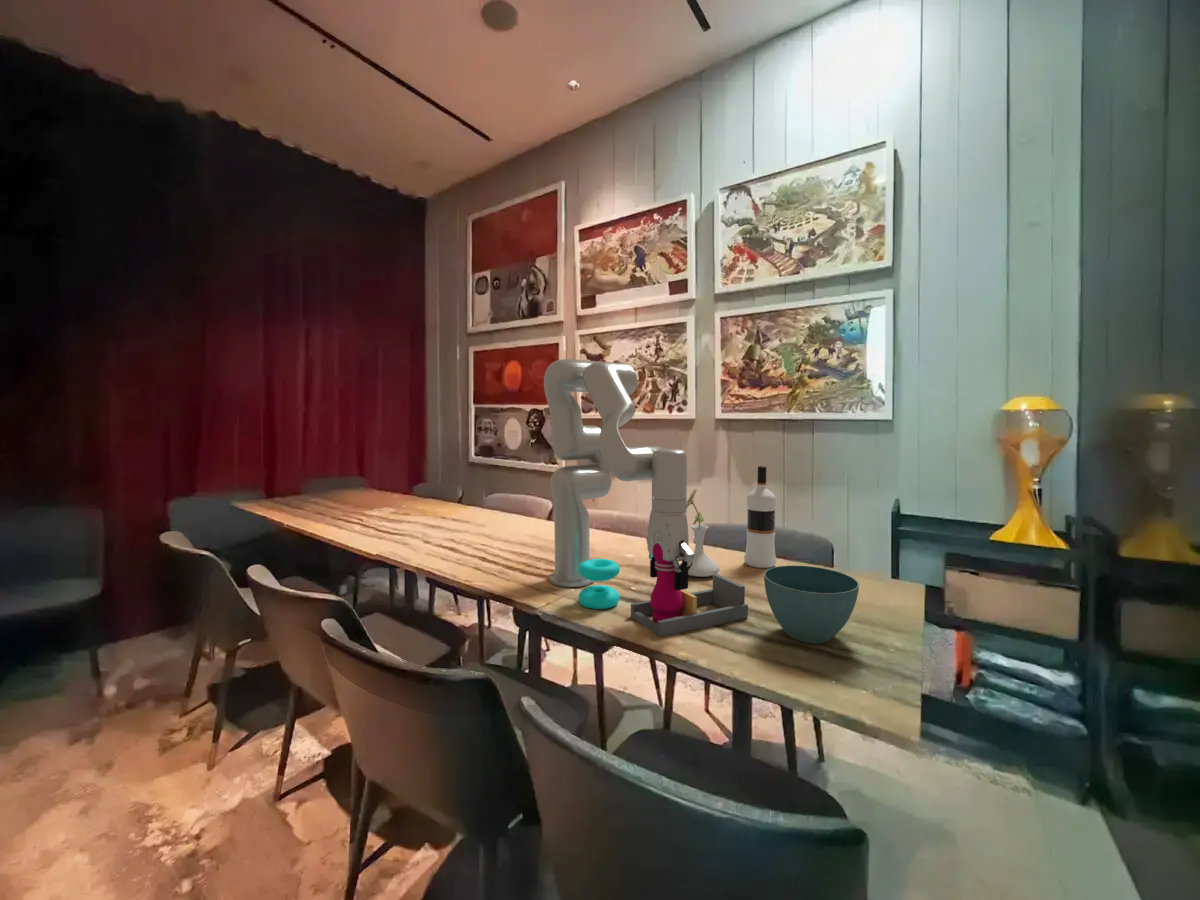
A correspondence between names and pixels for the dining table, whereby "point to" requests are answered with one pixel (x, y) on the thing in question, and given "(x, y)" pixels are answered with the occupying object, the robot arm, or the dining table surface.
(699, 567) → the flower in vase
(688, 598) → the pusher plate
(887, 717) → the dining table surface
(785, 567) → the teal bowl
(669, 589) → the pepper mill
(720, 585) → the lane
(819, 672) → the dining table surface
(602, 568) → the donuts
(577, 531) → the robot arm
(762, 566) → the vodka
